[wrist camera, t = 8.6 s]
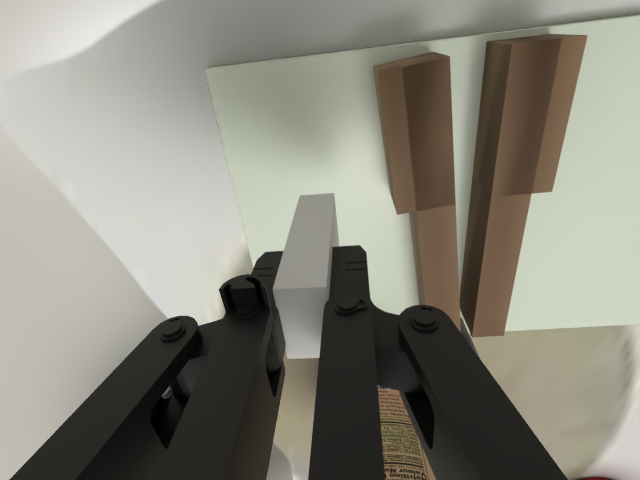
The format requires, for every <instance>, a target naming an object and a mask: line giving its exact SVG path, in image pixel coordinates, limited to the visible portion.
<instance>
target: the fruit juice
mask: <svg viewBox="0 0 640 480" xmlns="http://www.w3.org/2000/svg"><path fill="white" fill-rule="evenodd" d="M378 396H379V408H380V421H381V433H382V446H383V458H384V471H385V480H436V478H435V476H434V474H433V471H432V469H431V467H430V464H429V462H428V459H427V457H426V455H425V452H424V450H423V448H422V445H421V443H420V441H419V438H418V436H417V434H416V431H415V429H414V427H413V424H412V422H411V420H410V417H409V415H408V413H407V410H406V408H405V406H404V403H403V401H402V399H401V396H400V393H399V391H397V390H394V389H390V388H387V387H383V386H380V385H378Z"/></svg>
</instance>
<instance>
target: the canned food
mask: <svg viewBox="0 0 640 480" xmlns="http://www.w3.org/2000/svg"><path fill="white" fill-rule="evenodd" d="M581 480H609V479H604V478H587V479H581Z"/></svg>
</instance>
